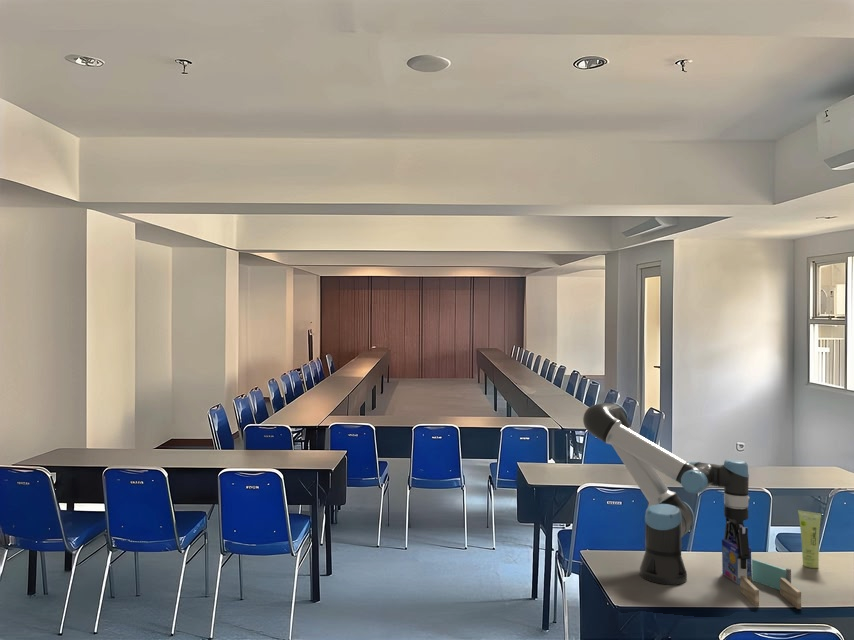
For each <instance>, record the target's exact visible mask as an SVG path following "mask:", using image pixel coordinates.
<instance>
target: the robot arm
mask: <svg viewBox="0 0 854 640" xmlns="http://www.w3.org/2000/svg"><path fill="white" fill-rule="evenodd" d="M582 420H583V421H582V422H583V426H584V427H585V429H586V431H587V432H588V433H590V434H591V435H592V436H594V437H595V438H596V439H598V440H600V441H603V443H605V444H607V445H611V446H612V448H613V450H614V451H615V452H616V454H617V456H618V457H619V458H620V460H621V462H622V463H623V465H624V466H625V468H626V470H627V472H629V474H630V476H631V477H632V479H633V480H634V482H635V484H636V485H637V486H638V488H639V490H640V491H641V492H642V495H644V498H645V499H646V500H647V502H648V505H647V507H646V510H645V515H644V522H645V523H644V524H645V525H644V526H645V528H644V529H645V530H644V533H645V535H644V537H645V538H644V539H645V540H644V542H645V543H644V545H645V547H644V550H645V551H644V554H643V558H642V560H641V563H640V566H639V575H640V576H641V578H643V579H644V580H647V581H650V582H652V583H656V584H660V585H671V586H672V585H673V586H674V585H681V584H684V583H686V582H687V581H688V574H687V570H686V566H685V564H684V559H683V557H682V538H683V537H684V536H685V535H686V534H688V533H689V532H690V531H691V530H692V528H693V526H694V524H695V523H694V522H695V514H694V511H693V509H692V508H691V506H690V505H689V504H688V503H687V502H685V501H682V500H681V498H680V497H679V495H678V493H677V492H676V491H671V490H670V489H669V488H668V486H667V484H666V483H665V482H664V481H663V479H662V477H661V476H660V474H659V473H658V472H660V473H662V474H664V475H665V476H667V477H669V478H670V479H672V480H674V481H675V482H678V483H679V484H680V485H681V486H682V488H683V489H684V490H685V491H686V492H688V493H690V494H699V493H702V492H704V491H705V490H706V489H707V488H708V487H709V486H710V487H719V488H723V490H724V491H723V492H724V493H723V503H724V507H723V509H724V510H723V512H724V513H723V515H724V517H725V528H724V538H723V539H731V538H730V536H729V535H731V536H733V537H734V538H736V543H737V547H738V554H739V556H737V559H738V578H740V576H745V577H746V578H747V559H750V553H749V547H750V546H749V545H750V544H749V535H748V533H749V532H748V530H749V529H748V527H745V524H744V521H747V520H749V514H750V513H749V508H748V507H749V500H750V499H751V497H750V496H749V482H750V481H749V479H750V477H749V476H750V475H749V464H748V463H747V462H746V461H744V460H741V459H726V460H724V461H723V462H724V463H723V464H715V463H706V462H701V461H696V462H695V461H689V462H688V461H686V460H685V459H683V458H681V457H680V456H677V455H676V454H674V453H672V452H671V451H669V450H667V449H665V448H663V447H662V446H660V445H658V444H657V443H655V442H653V441H651V440H650V439H648V438H646V437H644V436H642V435H641V434H639V433H637V432H636V431H634V430H633V426H632V424H631V423H630V421H629V416H628V413H627V411H626V409H625V408H624V406H622V405H620V404H619V403H617V402H612V401H606V402H605V401H604V402H602V403H597V404H593V405H590V406H589V407H588V408H587V409H586V410H585V412H584V414H583V416H582ZM732 539H733V538H732ZM744 554H745V555H744Z"/></svg>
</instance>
